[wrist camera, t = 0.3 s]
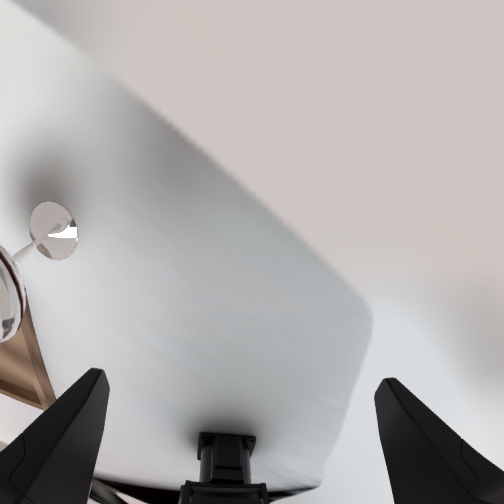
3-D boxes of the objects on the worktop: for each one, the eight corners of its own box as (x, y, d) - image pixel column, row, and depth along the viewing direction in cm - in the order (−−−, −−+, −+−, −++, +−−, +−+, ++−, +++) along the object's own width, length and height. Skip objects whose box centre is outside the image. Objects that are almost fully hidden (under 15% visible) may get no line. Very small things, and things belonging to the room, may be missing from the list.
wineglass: (21, 185, 20) (-87, 239, 9) (89, 196, 21) (-15, 267, 10) (23, 260, 22) (-60, 339, 11) (87, 277, 23) (13, 378, 12)
